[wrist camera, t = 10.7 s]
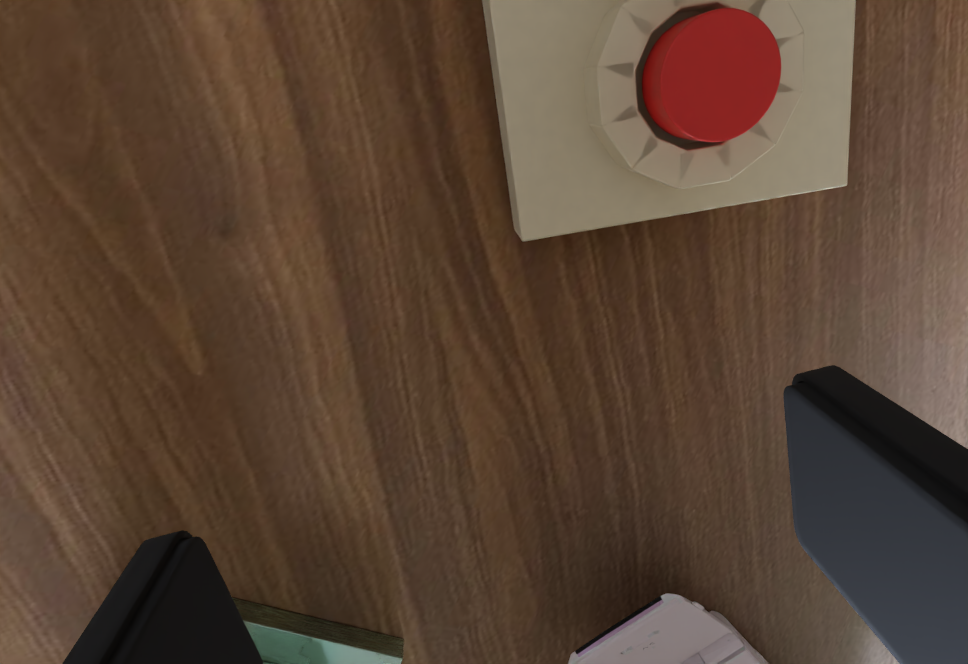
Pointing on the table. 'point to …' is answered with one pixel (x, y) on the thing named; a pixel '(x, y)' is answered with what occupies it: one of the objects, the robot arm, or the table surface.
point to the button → (712, 75)
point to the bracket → (314, 639)
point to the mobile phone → (669, 638)
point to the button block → (629, 127)
